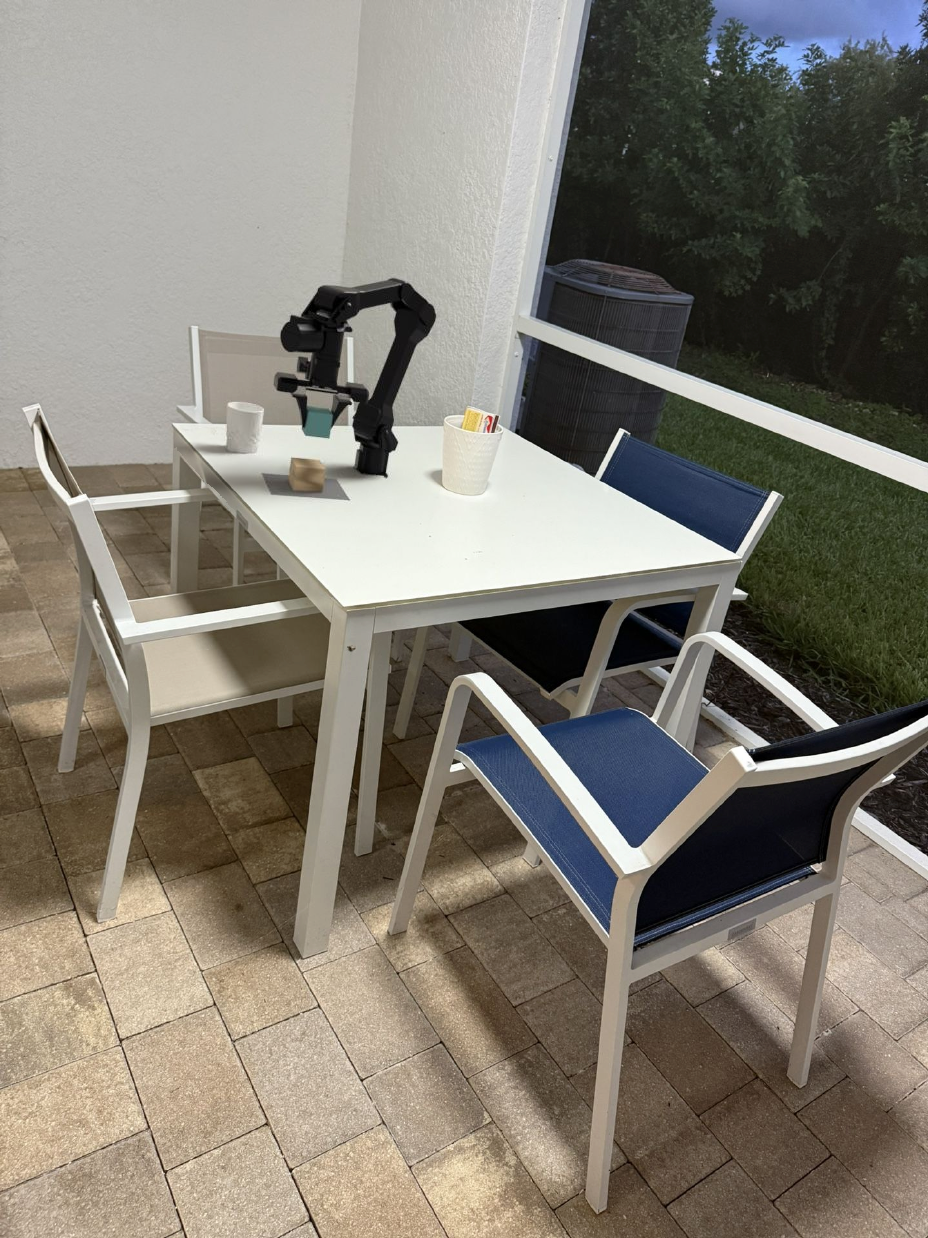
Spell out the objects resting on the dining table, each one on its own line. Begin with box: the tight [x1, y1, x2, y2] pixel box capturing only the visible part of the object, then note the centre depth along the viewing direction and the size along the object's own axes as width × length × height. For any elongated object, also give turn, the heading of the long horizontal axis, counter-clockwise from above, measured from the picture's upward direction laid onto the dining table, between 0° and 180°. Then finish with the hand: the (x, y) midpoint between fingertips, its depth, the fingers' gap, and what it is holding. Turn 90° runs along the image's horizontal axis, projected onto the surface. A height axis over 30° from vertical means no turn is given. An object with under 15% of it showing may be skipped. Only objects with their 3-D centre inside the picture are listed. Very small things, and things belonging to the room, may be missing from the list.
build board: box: [261, 472, 351, 501], centre depth 189 cm, size 16×13×1 cm
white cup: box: [225, 401, 265, 455], centre depth 202 cm, size 8×8×10 cm
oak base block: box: [288, 457, 327, 492], centre depth 188 cm, size 6×6×5 cm
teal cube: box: [301, 405, 333, 439], centre depth 189 cm, size 5×5×5 cm
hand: (316, 428), depth 189 cm, fingers closed on teal cube, 5 cm apart
